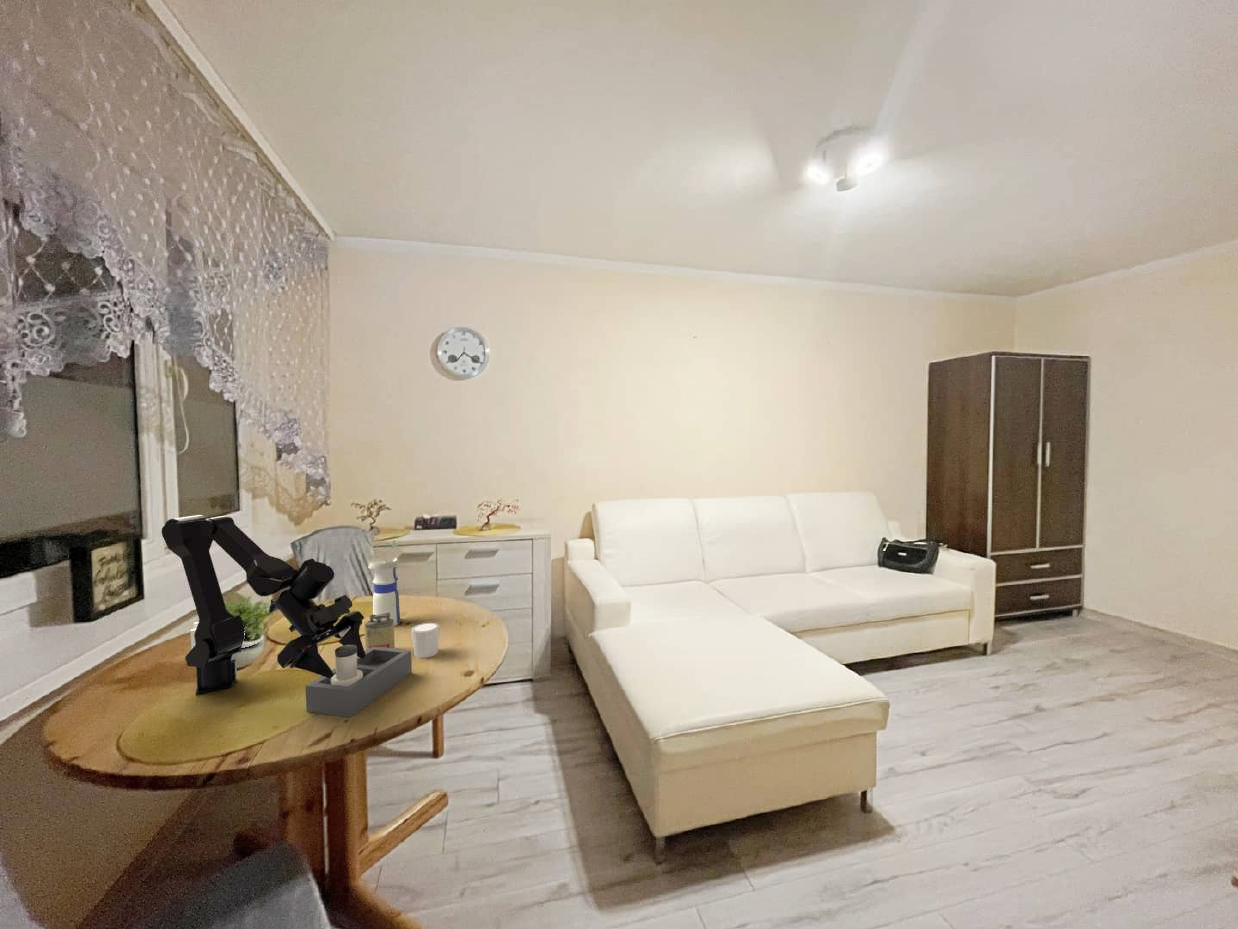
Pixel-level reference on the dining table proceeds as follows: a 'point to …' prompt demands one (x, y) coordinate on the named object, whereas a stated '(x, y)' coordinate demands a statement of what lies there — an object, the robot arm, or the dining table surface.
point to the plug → (346, 666)
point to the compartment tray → (360, 683)
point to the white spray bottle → (386, 587)
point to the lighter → (379, 632)
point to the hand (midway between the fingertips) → (348, 666)
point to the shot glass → (425, 639)
